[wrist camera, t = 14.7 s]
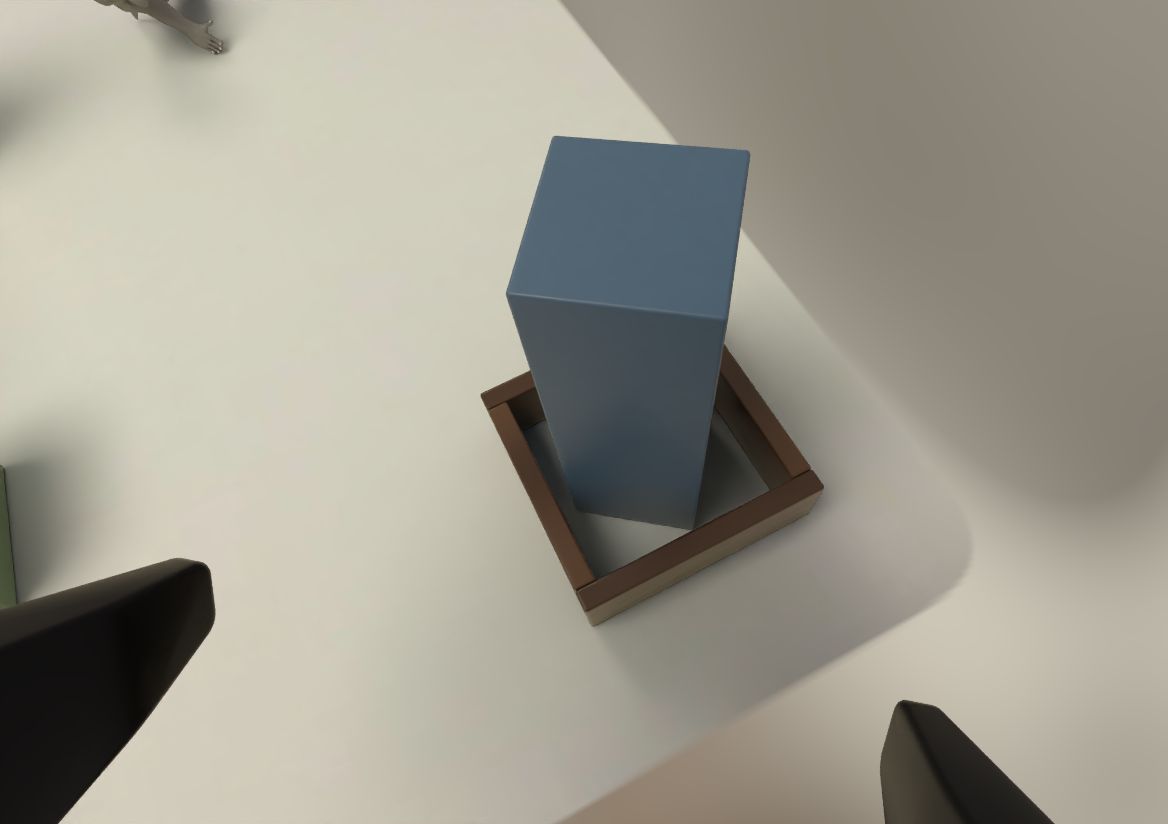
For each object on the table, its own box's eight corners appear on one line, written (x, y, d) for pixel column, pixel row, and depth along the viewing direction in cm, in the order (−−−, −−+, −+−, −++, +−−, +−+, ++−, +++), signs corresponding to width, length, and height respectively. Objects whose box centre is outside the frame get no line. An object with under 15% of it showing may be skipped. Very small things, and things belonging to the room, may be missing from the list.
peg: (693, 530, 23) (728, 320, 12) (575, 511, 24) (503, 294, 13) (708, 422, 25) (751, 149, 14) (597, 406, 26) (551, 134, 14)
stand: (809, 513, 23) (826, 487, 21) (592, 627, 22) (585, 613, 20) (687, 333, 27) (690, 294, 24) (494, 425, 26) (479, 393, 23)
